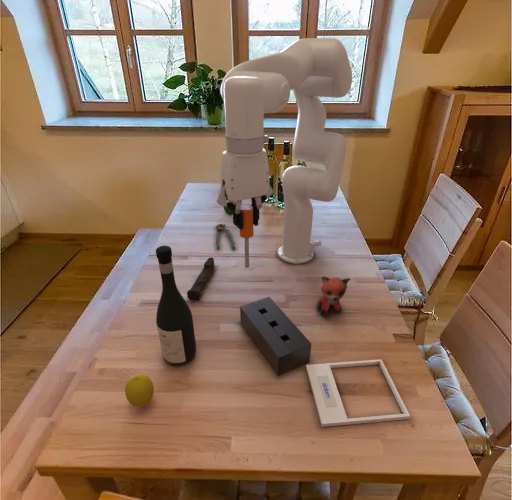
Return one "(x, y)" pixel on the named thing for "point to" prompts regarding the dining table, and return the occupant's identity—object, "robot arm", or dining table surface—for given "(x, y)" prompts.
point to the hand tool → (201, 280)
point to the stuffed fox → (331, 294)
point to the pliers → (221, 228)
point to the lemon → (139, 389)
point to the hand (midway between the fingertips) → (246, 224)
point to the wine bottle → (173, 315)
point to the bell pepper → (229, 209)
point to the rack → (275, 335)
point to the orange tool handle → (247, 229)
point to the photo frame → (330, 399)
